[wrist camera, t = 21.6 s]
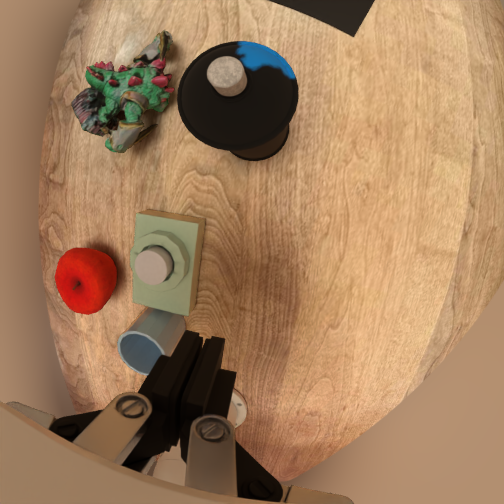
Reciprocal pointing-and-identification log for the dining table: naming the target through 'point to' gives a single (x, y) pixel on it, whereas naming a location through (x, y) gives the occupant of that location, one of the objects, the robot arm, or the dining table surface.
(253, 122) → the aerosol can
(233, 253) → the dining table surface
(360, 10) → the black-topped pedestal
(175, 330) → the cup
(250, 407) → the dining table surface
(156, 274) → the round grey push button
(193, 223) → the push button box
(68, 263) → the apple
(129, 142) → the figurine
